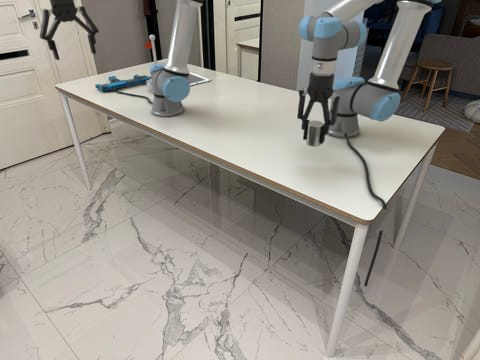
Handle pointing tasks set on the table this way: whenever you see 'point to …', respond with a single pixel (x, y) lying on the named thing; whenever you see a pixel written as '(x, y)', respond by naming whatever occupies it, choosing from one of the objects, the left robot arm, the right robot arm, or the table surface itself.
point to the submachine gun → (122, 82)
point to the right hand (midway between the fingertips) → (313, 140)
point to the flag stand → (152, 46)
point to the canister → (314, 133)
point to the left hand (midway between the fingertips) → (76, 56)
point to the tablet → (196, 79)
